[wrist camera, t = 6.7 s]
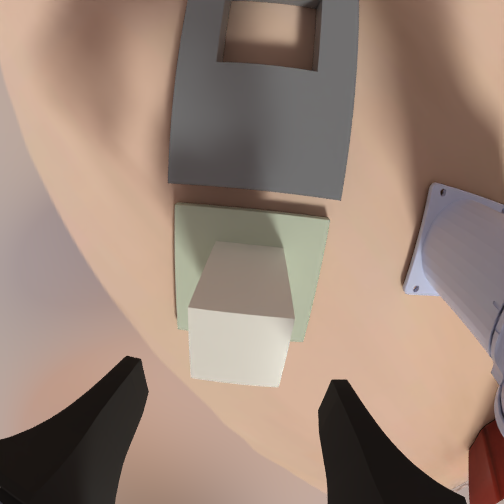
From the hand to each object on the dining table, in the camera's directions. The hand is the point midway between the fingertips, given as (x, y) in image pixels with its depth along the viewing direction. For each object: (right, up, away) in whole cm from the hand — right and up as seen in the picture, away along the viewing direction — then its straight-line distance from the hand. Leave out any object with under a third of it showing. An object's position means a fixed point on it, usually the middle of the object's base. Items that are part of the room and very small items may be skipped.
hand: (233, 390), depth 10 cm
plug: (0, +4, +8) cm, 9 cm away
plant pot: (+49, -29, +21) cm, 61 cm away
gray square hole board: (+2, +17, +3) cm, 18 cm away
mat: (0, +4, +9) cm, 9 cm away
